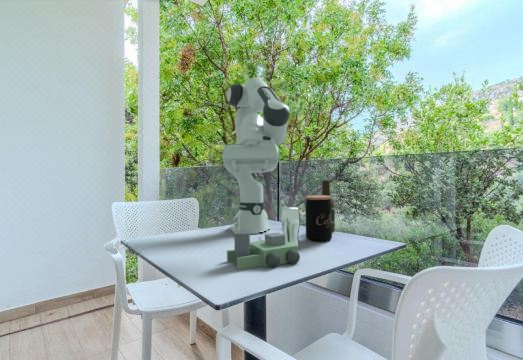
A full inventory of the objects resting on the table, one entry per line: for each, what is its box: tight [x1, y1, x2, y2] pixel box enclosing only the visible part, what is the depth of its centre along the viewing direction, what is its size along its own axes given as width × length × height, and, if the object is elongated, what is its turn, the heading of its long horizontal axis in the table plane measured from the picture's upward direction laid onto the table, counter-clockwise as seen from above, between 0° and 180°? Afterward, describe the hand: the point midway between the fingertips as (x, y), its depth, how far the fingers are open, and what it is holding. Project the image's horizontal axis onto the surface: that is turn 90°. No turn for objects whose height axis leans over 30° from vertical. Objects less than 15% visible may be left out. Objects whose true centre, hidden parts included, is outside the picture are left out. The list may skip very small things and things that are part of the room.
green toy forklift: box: [226, 232, 301, 271], centre depth 101 cm, size 16×20×8 cm
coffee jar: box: [305, 194, 333, 243], centre depth 130 cm, size 11×11×18 cm
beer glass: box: [280, 206, 301, 249], centre depth 117 cm, size 7×7×15 cm
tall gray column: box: [233, 231, 251, 267], centre depth 98 cm, size 4×4×10 cm
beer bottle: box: [321, 179, 336, 233], centre depth 146 cm, size 8×8×24 cm
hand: (250, 170), depth 109 cm, fingers open, 8 cm apart
